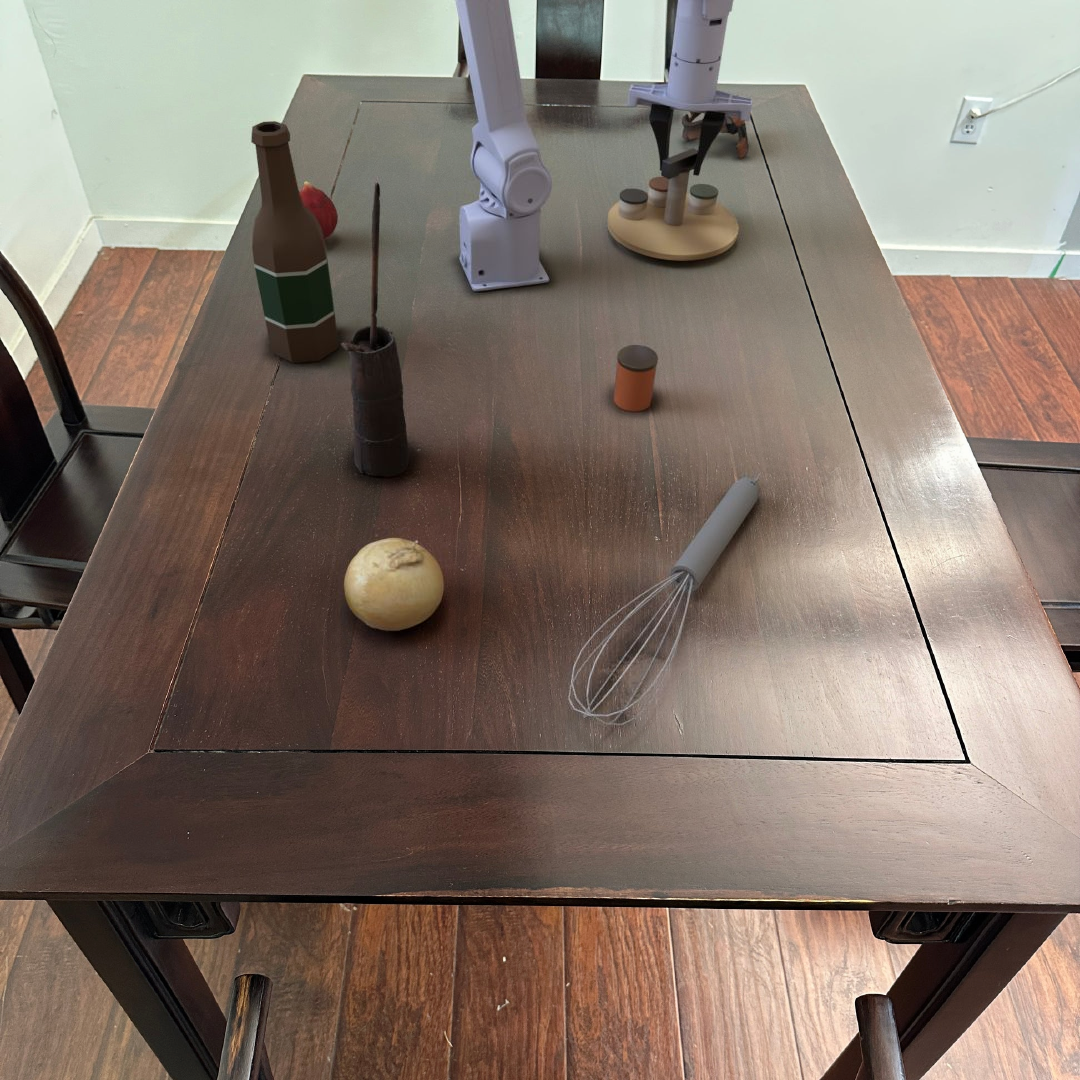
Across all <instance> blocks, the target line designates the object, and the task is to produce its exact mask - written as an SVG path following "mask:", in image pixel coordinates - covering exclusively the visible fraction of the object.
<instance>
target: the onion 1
mask: <svg viewBox="0 0 1080 1080" xmlns="http://www.w3.org/2000/svg"><path fill="white" fill-rule="evenodd" d="M299 193H300V195H301V198H302V201H303V204H304V205H305V206H306V207H307V208H308V209H309V210H310V211H311V212H312V213H313V214H314V215H315V217H316V219H317V221H318V222H319V224H320V226H321V228H322V231H323V236H324V241H325V240H326V239H328V238H329V237H331V235H333V234H334V232H335V230H336V227H337V225H338V223H339V222H338V220H339V217H338V215H339V214H338V213H337V208H336V205H335V204H334V202H333V200H332V199H331V198H330V197H329V196H328V195H327V194H326V193H325V192H324V190H323V191H322V190H321V189H319V188H317V187H315V186H314V185H312V184H311V183H310V182H309V181H307V180H305V181H303V188H302V189H301V190H299Z"/></svg>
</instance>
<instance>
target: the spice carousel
mask: <svg viewBox="0 0 1080 1080" xmlns="http://www.w3.org/2000/svg"><path fill="white" fill-rule="evenodd" d="M697 154H698V149H696V148H694V147H691V148H690V149H687V150H684V151H682V152H680V153H677V154H674V155H672V156H669V158H667V159H664V160H663V163H662V171H660V176H655V177H652V178H650V180H649V181H648V191H645V190H643V189H640V188H625V189H623V190H621V191H620V193H619V201H617V202H616V203H614V204H613V205H612V207H611V208H610V210H609V211H608V214H607V221H606V226H607V229H608V231H609V233H610V235H611V236H612V238H613V239H614V240H615V241H617V243H619V244H620V245H622V246H624V247H625V248H627V249H629V250H631V251H633V252H634V253H638V254H640V255H643V256H647V257H650V258H655V259H660V260H665V261H685V262H687V261H697V260H703V259H704V260H705V259H709V258H712V257H715V256H719V255H721V254H723V253H724V252H726V251H728V250H729V249H730V248H731V247H733V245H735V243H736V241H737V239H738V236H739V223H738V220H737V218H736V217H735V215H734V214H733V213H732V212H731V211H730V210H729V209H727V208H726V207H725V206H723V205H721V204H719V203H718V202H717V200H718V195H719V189H718V188H717V187H716V186H714V185H711V184H708V183H697V184H693V185H692V186H691V187H690V188H689V193H688V186H689V180H690V173H691V171H694V166H695V162H696V158H697Z"/></svg>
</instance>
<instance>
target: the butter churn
mask: <svg viewBox="0 0 1080 1080" xmlns="http://www.w3.org/2000/svg"><path fill="white" fill-rule="evenodd" d="M380 197H381V187H380V183H378V182H375V183H374V192H373V205H372V210H371V286H370V287H371V288H370V290H371V293H370V294H371V298H370V299H371V300H370V312H371V313H370V317H371V319H370V325H366V326H364V327H362V328H360V329H358V330H356V331H355V332H354V334H353V335H352V338H351V339H350V340H349V343H347V342H345V341H343V342H341V343H340V345H341V347H342V348H343V349H344V350H346V352H348V353H349V358H350V364H349V365H350V366H349V368H350V370H349V371H350V380H351V382H350V394H351V397H352V414H353V433H354V434H353V445H354V446H353V447H354V448H353V450H354V453H353V455H354V464H355V467H356V468H357V470H358V471H359V472H360V474H367V475H370V476H374V477H383V478H389V477H394V476H398V475H399V474H402V473H403V472H404V471H405V470H406V469H407V468H408V467H409V464H410V453H409V443H408V433H407V423H406V417H405V410H404V397H403V396H404V384H403V380H402V368H401V364H400V358H399V357H400V356H399V352H398V346H397V342H396V338H395V336H394V334H393V331H392V330H389V329H388V328H387V327H385V326H383V325H378V317H377V312H378V306H379V305H378V303H379V301H378V300H379V297H378V296H379V295H378V294H379V293H378V290H379V258H380V257H379V255H380V253H379V252H380V224H381V223H380V220H381V200H380Z"/></svg>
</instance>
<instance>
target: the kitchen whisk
mask: <svg viewBox="0 0 1080 1080" xmlns="http://www.w3.org/2000/svg"><path fill="white" fill-rule="evenodd" d="M760 475H761V473H760V472H758V473H757V474H756V475H755V476H754V477H753V478H751V477H748V476H744V477H741V478H739V479H738V480H737V481H736V482H734V483H733V484H732V485H731V487H730V488H729V489H728V491H727V492H726V494H724V496H723V497H722V499H721V501H719V503H718V504H717V506H716V508H715V509H714V510H713V512H712V513H711V514H710V516H709V517H708V519H707V520H706V521H705V522H704V524H703V525H702V526H701V528H700V529H699V531H698V532H697V533H696V535H695V536H694V538H693V539H692V541H691V542H690V543H689V544H688V546H687V547H686V549H685V550H684V552H683V553H682V554H681V556H680V557H679V559H678V560H677V562H676V563H675V564H674V566H673V567H672V568H671V569H670V572H669V577H667V578H665V579H664V580H662V581H660V582H658V583H657V584H655V585H653V586H652V587H650V588H649V589H647V590H646V591H644V592H643V593H641V594H639V595H638V596H637V597H635V598H634V599H632V600H631V601H629V602H628V603H627V604H625V605H624V606H623V607H621V608H620V609H619V610H618V611H616V612H615V613H614V614H613V615H612V616H611V617H609V618H608V619H607V620H606V621H605V622H604V623H602V625H601V626H599V628H598V629H597V630H596V631H594V633H593V634H592V635H591V636H590V637H589V639H588V641H586V643H585V644H584V645H583V647H582V648H581V649H580V651H579V654H578V656H577V658H576V660H575V661H574V664H573V668H572V674H571V681H570V683H571V684H570V686H569V692H568V702H569V703H570V705H571V708H572V709H573V710H574V711H576V712H578V713H581V714H583V718H584V719H586V718H588V717H591V719H592V721H593V723H594V724H595V726H597V727H602V728H607V727H608V726H623V725H626V724H628V723H630V722H632V721H634V720H636V719H638V718H639V717H640V716H641V715H642V713H644V712H645V710H647V708H649V707H650V705H651V704H652V702H653V700H654V699H655V697H656V696H657V694H658V692H660V689H661V686H662V685H663V683H664V680H665V678H666V676H667V674H668V672H669V669H670V666H671V664H672V662H673V660H674V656H675V654H676V651H677V647H678V644H679V641H680V638H681V635H682V632H683V628H684V622H685V619H686V615H687V611H688V607H689V602H690V598H691V594H692V592H694V591H696V590H697V589H698V588H699V587H700V585H701V584H702V582H703V581H704V579H705V578H706V576H707V575H708V574H709V572H710V571H711V569H712V567H713V566H714V565H715V563H716V562H717V560H718V559H719V557H720V556H721V554H722V553H723V551H724V550H725V548H727V546H728V544H729V542H730V541H731V540H732V538H733V537H734V535H735V534H736V533H737V530H738V529H739V527H740V526H741V525H742V524H743V522H744V520H745V519H746V518H747V517H748V515H749V513H750V512H751V510H752V509H753V507H754V506H755V504H756V503H757V501H758V499H759V495H760V492H761V488H760V485H759V483H758V482H757V481H758V479H759V478H760ZM671 584H673V585H674V586H675V588H673V590H672V592H671V593H670V594H669V595H668V597H667V599H666V600H665V601H664V602H663V604H661V606H660V607H659V609H658V610H657V611H656V613H655V614H654V615H653V617H652V618H651V619H650V621H649V622H648V623H647V625H645V627H644V629H643V630H642V631H641V633H640V634H639V635H638V637H637V638H636V639H635V641H634V642H633V643H632V645H631V646H630V647H629V649H628V650H627V651H626V653H625V654H624V655H623V657H622V658H621V659H620V661H619V662H618V664H617V665H616V666H615V668H614V669H613V670H612V671H611V673H610V675H609V676H608V677H607V679H606V680H605V682H604V683H603V684H602V685H601V687H600V689H598V691H597V693H596V694H595V696H594V697H593V698H592V700H591V702H590V698H589V694H590V686H591V678H592V676H593V673H594V670H595V667H596V665H597V662H598V660H599V658H600V657H601V655H602V653H603V651H604V650H605V648H606V646H607V644H608V643H609V642H610V640H611V639H612V638H613V636H614V635H615V633H616V632H617V631H618V630H619V628H620V627H621V626H623V625H624V624H625V623H626V622H627V621H628V620H630V619H631V617H632V616H633V615H635V614H636V613H637V612H639V610H640V609H642V608H643V607H644V606H645V605H647V603H649V602H650V601H651V600H652V599H654V598H655V597H656V596H657V595H658V594H660V593H661V592H662V591H664V590H665V589H666V588H668V586H670V585H671ZM658 586H659V587H658ZM657 587H658V588H657ZM655 588H657V589H655ZM653 589H655V590H654V591H652V590H653ZM650 591H652V593H650V594H649V595H648V596H647V597H645V598H644V599H643V600H642V601H641V602H640V603H639V604H638V605H637V606H636V607H635V608H634V609H632V610H631V612H629V613H628V614H627V616H626V617H625V618H624V619H623V620H622V621H621V622H620V624H618V626H617V627H616V628H614V629H613V631H612V632H611V633H609V634H608V635H607V637H605V638H604V639H603V640H602V641H601V642H600V644H598V646H597V647H596V648H595V649H594V650H593V651H592V652H591V654H589V656H588V657H587V658H586V660H585V661H584V663H582V665H581V667H579V669H578V670H577V671H576V674H575V669H576V666H577V664H578V661H579V660H580V657H582V656H581V655H582V653H583V651H584V650H585V649H586V647H587V646H588V645H589V644H590V642H591V641H592V640H593V638H594V637H595V636H596V635H597V634H598V633H599V632H600V631H601V630H602V629H603V628H604V627H605V626H606V625H607V624H608V623H609V622H610V621H611V620H612V619H614V618H615V617H616V616H617V615H618V614H619V613H621V612H622V611H623V610H625V609H626V608H627V607H628V606H630V605H631V604H633V603H634V602H636V601H637V600H638V599H640V598H641V597H643V596H645V595H646V594H647V593H649V592H650ZM676 591H677V592H676ZM681 591H682V592H681ZM680 592H681V594H680V597H679V600H678V602H677V605H676V607H675V609H674V612H673V614H672V616H671V619H670V622H669V624H668V626H667V628H666V630H665V633H664V635H663V636H662V639H661V641H660V644H659V645H658V648H657V650H656V652H655V654H654V656H653V657H652V660H651V662H650V664H649V666H648V668H647V670H646V671H645V674H644V675H643V678H642V679H641V681H640V682H639V684H638V686H637V688H636V689H635V691H634V693H633V694H632V696H631V698H630V699H629V700H628V702H627V703H626V705H625V706H624V708H623V709H619V710H617V711H615V712H611V713H608V714H597V713H596V714H595V713H593V712H594V711H596V709H597V708H598V707H599V706H601V704H602V703H603V701H604V700H605V699H606V698H607V697H608V696H609V695H610V693H611V692H612V691H614V688H615V687H616V686H617V685H618V683H619V682H620V681H621V679H622V678H623V677H624V676H625V674H626V673H627V672H628V670H629V669H630V667H631V666H632V665H633V664H634V662H635V660H636V659H637V658H638V656H639V655H640V653H641V652H642V650H643V649H644V648H645V646H646V645H647V644H648V642H649V640H650V639H651V637H652V636H653V635H654V633H655V631H656V630H657V628H658V627H659V625H660V624H661V622H662V621H663V619H664V617H665V616H666V614H667V613H668V611H669V610H670V608H671V606H672V605H673V603H674V602H675V600H676V598H677V597H678V595H679V593H680ZM685 592H688V593H687V598H686V603H685V609H684V612H683V617H682V620H681V623H680V625H679V626H680V627H679V629H678V632H677V635H676V637H675V640H674V643H673V645H672V648H671V650H670V653H669V654H668V657H667V659H666V661H665V663H664V665H663V667H662V668H661V670H660V671H659V673H658V674H657V676H656V678H655V679H654V681H653V682H652V683H651V685H649V687H648V688H647V689H646V691H644V693H643V694H642V695H640V697H639V698H638V699H636V700H634V698H635V696H636V694H637V693H638V692H639V689H640V688H641V686H642V684H643V682H644V681H645V679H646V677H647V676H648V674H649V672H650V669H651V667H652V666H653V664H654V662H655V659H656V658H657V656H658V654H659V651H660V649H661V647H662V645H663V643H664V640H665V639H666V636H667V634H668V632H669V629H670V627H671V625H672V623H673V620H674V619H675V616H676V613H677V611H678V608H679V606H680V604H681V601H682V599H683V597H684V594H685ZM674 593H675V595H674ZM673 595H674V597H673V598H672V596H673ZM671 598H672V600H671V602H670V603H669V604H668V606H667V608H666V610H665V611H664V613H662V616H661V618H660V619H659V621H658V622H657V623H656V625H655V627H654V628H653V629H652V631H651V633H650V634H649V635H648V637H647V638H646V640H645V642H644V643H643V644H642V646H641V647H640V649H639V650H638V652H637V653H636V654H635V656H634V658H633V659H632V660H631V662H630V663H629V664H628V665H627V666H626V669H625V670H624V671H623V672H622V674H621V675H620V676H619V678H618V679H617V680H616V682H615V683H614V684H613V685H612V686H611V688H610V689H609V690H608V691H607V693H606V694H605V695H604V696H603V697H602V698H601V700H600V701H599V702H598V703H596V705H595V706H594V707H593V708H592V709H591V706H592V705H593V703H594V702H595V700H596V699H597V698H598V696H599V695H600V693H601V691H602V690H603V689H604V687H605V686H606V685H607V683H608V682H609V680H610V679H611V677H612V676H613V675H614V674H615V672H616V670H617V669H618V668H619V666H620V665H621V664H622V662H623V661H624V660H625V659H626V657H627V656H628V655H629V653H630V652H631V650H632V649H633V648H634V646H635V645H636V643H637V642H638V641H639V640H640V638H641V637H642V636H643V634H644V633H645V631H646V630H647V629H648V627H650V625H651V624H652V623H653V621H654V620H655V618H656V617H657V616H658V614H659V613H660V612H661V610H662V609H663V608H664V606H665V605H666V604H667V602H668V601H669V600H670V599H671ZM602 645H603V646H602ZM601 646H602V648H601V649H600V647H601ZM599 649H600V651H599V652H598V654H597V657H596V658H595V660H594V663H593V665H592V668H591V670H590V673H589V676H588V680H587V688H586V702H587V708H586V706H584V705H583V703H582V702H581V701H580V700H579V698H578V695H577V692H576V689H575V685H574V683H575V681H576V679H577V678H578V676H579V674H580V672H581V671H582V670H583V668H584V667H585V666H586V664H587V663H588V661H589V660H590V659H591V658H592V657H593V655H594V654H595V653H596V652H597V651H598V650H599ZM668 662H669V663H668ZM666 666H667V667H666ZM665 668H666V671H665V672H664V670H665ZM663 672H664V675H663V677H662V679H661V680H660V683H659V685H658V688H657V689H656V690H655V692H654V694H653V695H652V697H651V698H650V700H649V702H648V703H647V705H646V706H644V707H643V709H642V710H641V711H639V712H638V714H637V715H636V716H634V717H633V718H630V719H628V720H626V721H624V722H622V723H621V722H620V723H617V722H616V721H617V720H618V719H619V717H620V716H621V715H622V714H623V713H624V712H626V711H627V710H628V709H630V708H631V707H633V706H634V705H636V704H637V703H638V702H640V701H641V700H642V699H643V698H644V697H645V696H646V695H647V694H648V692H649V691H650V690H651V689H652V688H653V687H654V686H655V684H656V682H657V681H658V679H659V678H660V676H661V675H662V674H663ZM572 691H573V694H574V698H575V700H576V701H577V703H578V704H579V705H580V706H581V707H582V708H583V710H584V711H583V710H581V709H578V708H576V707H575V704H574V703H573V701H572V699H571V695H572ZM633 700H634V701H633ZM632 701H633V702H632ZM614 715H617V716H616V717H615V718H614V719H613V720H611V721H609V722H606V721H604V720H602V719H601V718H599V717H611V716H614ZM597 721H599V722H601V723H602V724H600V723H598V722H597Z"/></svg>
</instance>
